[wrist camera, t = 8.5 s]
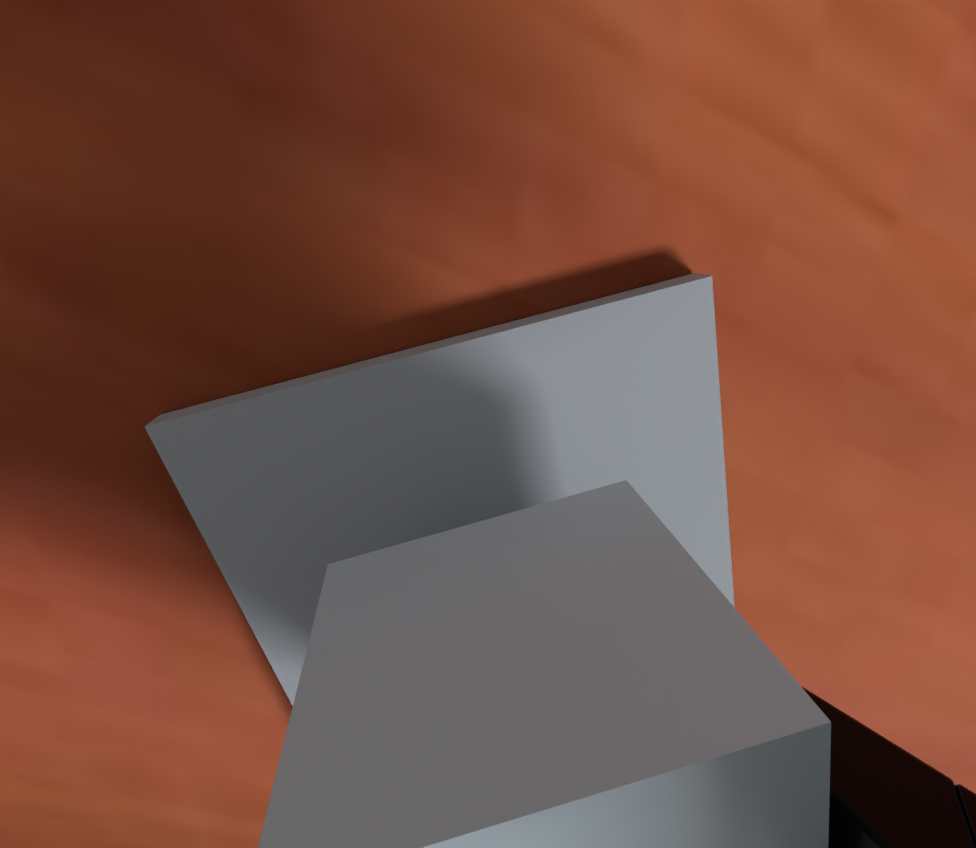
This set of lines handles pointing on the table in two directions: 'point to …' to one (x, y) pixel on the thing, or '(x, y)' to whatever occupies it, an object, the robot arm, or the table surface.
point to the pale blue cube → (545, 698)
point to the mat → (456, 447)
